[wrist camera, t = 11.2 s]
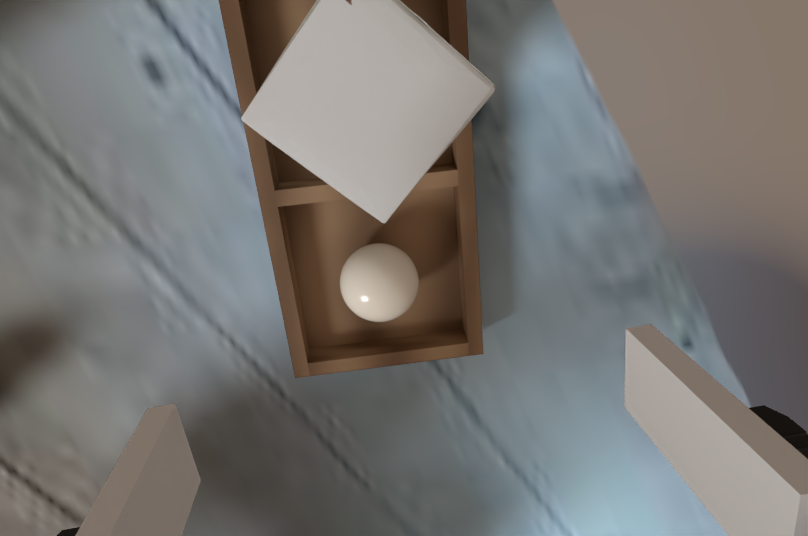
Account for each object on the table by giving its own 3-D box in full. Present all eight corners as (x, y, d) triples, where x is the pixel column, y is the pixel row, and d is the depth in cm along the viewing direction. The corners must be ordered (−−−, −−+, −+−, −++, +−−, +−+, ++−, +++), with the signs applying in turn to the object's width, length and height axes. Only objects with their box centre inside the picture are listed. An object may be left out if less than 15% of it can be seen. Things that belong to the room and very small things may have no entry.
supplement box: (275, 91, 32) (230, 116, 21) (351, -17, 31) (349, -57, 19) (374, 168, 35) (383, 230, 23) (450, 71, 33) (502, 85, 21)
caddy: (299, 355, 40) (295, 377, 38) (224, -29, 31) (211, -36, 28) (474, 333, 41) (483, 353, 38) (453, -51, 31) (462, -61, 29)
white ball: (346, 305, 38) (344, 341, 33) (335, 237, 36) (332, 265, 32) (417, 296, 38) (426, 330, 34) (411, 228, 36) (419, 254, 32)
